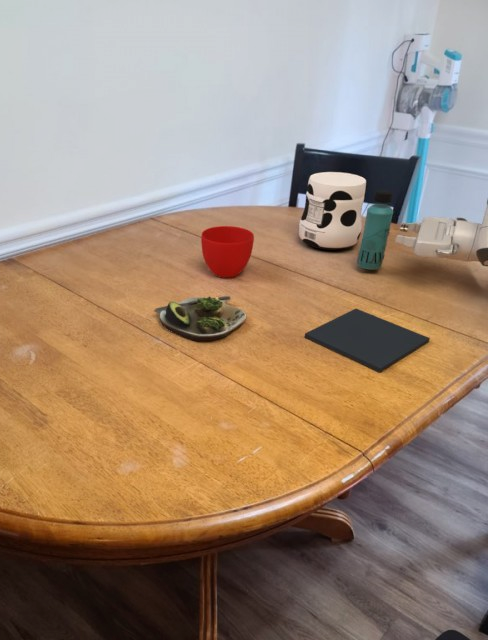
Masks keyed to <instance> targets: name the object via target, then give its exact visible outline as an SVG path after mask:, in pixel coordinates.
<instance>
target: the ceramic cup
mask: <svg viewBox="0 0 488 640" xmlns="http://www.w3.org/2000/svg"><path fill="white" fill-rule="evenodd" d="M200 239H201V241H200V242H201V252H202V257H203V259H204V263H205V264H206V266H207V268H208V270H210V272H211V273H212V274H213V273H214V274H215V275H217V276H220V277H219V278H221V277H232V278H235V277H237V276H239V274H240V273H241V272H242V271H243V270H244V269H245V268H246V267H247V265H248V263H249V261H250V259H251V256H252V253H253V247H254V242H255V234H254V233H253V232H252V231H251V230H249V229H246V228H244V227H239V226H232V225H220V226H213V227H208V228H206V229H204V230H203V231H202V232H201V237H200ZM214 274H213V275H214ZM215 275H214V276H215ZM236 275H237V276H236ZM217 276H216V277H217ZM234 276H235V277H234Z"/></svg>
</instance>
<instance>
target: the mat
mask: <svg viewBox="0 0 488 640" xmlns="http://www.w3.org/2000/svg"><path fill="white" fill-rule="evenodd" d="M304 338H305V339H306V340H309V341H310V342H313V343H315V344H317V345H319V346H321V347H324V348H326V349H328V350H330V351H333V352H335V353H336V354H339V355H341V356H342V357H345V358H347V359H349V360H351V361H353V362H355V363H358V364H360V365H362V366H365V367H366V368H368V369H370V370H373V371H375V372H377V373H378V374H380V373H382V372H383V371H385V370H387V369H389V368H391V366H394V365H395V364H396V363H398V362H400V361H401V360H403V359H405V358H406V357H408V356H409V355H411V354H412V353H414V352H416V351H417V350H419V349H420V348H422V347H424V346H425V345H427V344H428V343H430V341H431V337H428V336H426V335H423V334H421V333H419V332H416V331H414V330H412V329H411V330H410V329H408V328H406V327H403V326H401V325H398V324H396V323H393V322H391V321H388V320H386V319H383V318H381V317H378V316H376V315H374V314H371V313H370V312H369V313H368V312H366V311H364V310H362V309H359V308H354V309H352V310H350V311H347V312H346V313H344V314H342V315H339V316H337V317H335V318H333V319H331V320H329V321H327V322H325V323H323V324H321V325H319V326H317V327H315V328H313V329H311V330H309V331H307V332H305V333H304Z"/></svg>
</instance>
